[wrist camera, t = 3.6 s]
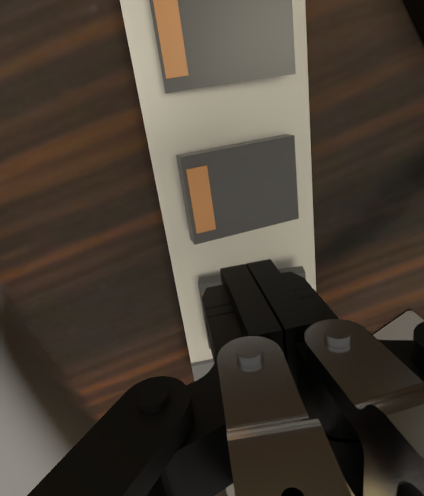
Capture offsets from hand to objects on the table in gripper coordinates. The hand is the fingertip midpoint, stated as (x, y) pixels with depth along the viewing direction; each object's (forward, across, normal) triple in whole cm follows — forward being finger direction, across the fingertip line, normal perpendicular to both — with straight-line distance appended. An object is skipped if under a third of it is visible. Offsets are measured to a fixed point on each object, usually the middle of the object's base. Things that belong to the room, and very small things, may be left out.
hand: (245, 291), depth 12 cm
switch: (+12, -3, -8) cm, 15 cm away
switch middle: (+12, -3, 0) cm, 13 cm away
